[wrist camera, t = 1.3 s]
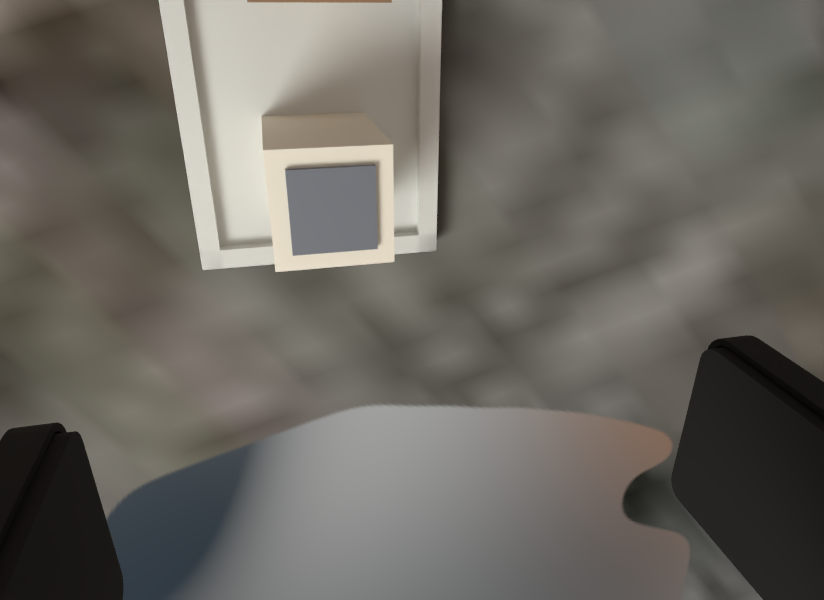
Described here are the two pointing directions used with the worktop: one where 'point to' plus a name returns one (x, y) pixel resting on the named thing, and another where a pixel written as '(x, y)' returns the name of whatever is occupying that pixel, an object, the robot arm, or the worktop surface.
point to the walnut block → (326, 1)
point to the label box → (328, 190)
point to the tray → (300, 104)
